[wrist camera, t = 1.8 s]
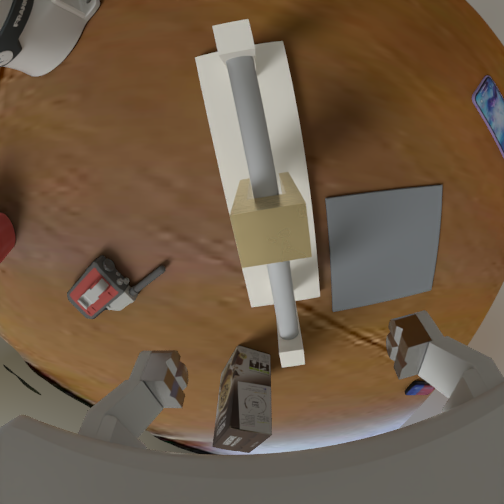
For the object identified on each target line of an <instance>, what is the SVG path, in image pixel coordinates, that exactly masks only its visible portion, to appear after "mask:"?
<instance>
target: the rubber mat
mask: <svg viewBox="0 0 504 504" xmlns="http://www.w3.org/2000/svg"><path fill="white" fill-rule="evenodd" d="M325 201H326V211H327V222H328V234H329V248H330V264H331V284H332V311H333V312H335V311H341V310H346V309H351V308H356V307H361V306H366V305H371V304H375V303H380V302H384V301H389V300H393V299H397V298H402V297H406V296H410V295H414V294H418V293H422V292H426V291H430V290H431V288H432V283H433V277H434V271H435V265H436V258H437V250H438V242H439V233H440V222H441V207H442V185H432V186H422V187H412V188H402V189H393V190H384V191H376V192H368V193H360V194H352V195H344V196H337V197H330V198H325Z"/></svg>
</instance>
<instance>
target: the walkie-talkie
mask: <svg viewBox="0 0 504 504" xmlns="http://www.w3.org/2000/svg"><path fill="white" fill-rule="evenodd" d="M85 271H86V272H85V273H84V274H83V275H82V276H81V278H80V279H79V280H78V281H77V282H76V283H75V284H74V285H73V287H72V288H71V289H70V290H69V291H68V292H67V297H68V300H69V301H70V302H71V303H72V304H73V305H74V306H75V307H76V308H77V309H78V310H79V311H80V312H81V313H82V314H83V315H84V316H85V317H86V318H88V319H95V318H96V317H97V316H98V315H99V314H100V313H102V312H103V311H104V310H117V311H120V310H122V309H123V308H124V307H126V306H127V305H128V304H130V303H132V302H134V301H135V299H136V298H137V296H138V293H139V291H140V290H142V289H143V288H144V287H145V286H147V285H148V284H149V283H151V282H152V281H153V280H155V279H156V278H157V277H158V276H160V275H161V274H162V273H164V272H165V267H164V266H160V267H158V268H157V269H156V270H155V271H153V272H152V273H151V274H149V275H148V276H147V277H146V278H144V279H143V280H142V281H141V282H139V283H138V284H137V285H136V286H133V287H132V288H131V287H130V286H129V279H128V278H124V277H123V276H122V275H121V274H120V273H119V272H118V271H117V270H116V269H115V265H114V263H113V261H112V260H110V259H106V258H105V257H104V256H100V257H99V258H98V259H97V258H96V259H95V261H94V262H93V263H92V264H91V265H90V266H89V267H88V268H87V269H86V270H85Z"/></svg>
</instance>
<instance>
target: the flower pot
mask: <svg viewBox="0 0 504 504" xmlns="http://www.w3.org/2000/svg"><path fill="white" fill-rule="evenodd" d="M14 245H15V232H14V228H13V225H12V223H11V221H10V219H9V218H8V217H7V216H6V215H5V214H3V213H0V263H1V262H2V261H3V259H4V258H5V257H6V256H7V255H8V253H9V252H10V251H11V250H12V249H13V247H14Z"/></svg>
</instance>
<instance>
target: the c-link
mask: <svg viewBox="0 0 504 504" xmlns="http://www.w3.org/2000/svg"><path fill="white" fill-rule="evenodd" d="M279 178H280V184H281V190H282V194H279V195H273V196H267V197H261V198H255V199H254V198H253V193H252V188H251V183H250V178H248V179H243V180H240V182H239V185H238V189H237V192H236V196H235V199H234V203H233V206H232V210H231V213H230V218H231V223H232V227H233V231H234V236H235V240H236V244H237V248H238V253H239V257H240V261H241V265H242V268H245V267H252V266H258V265H265V264H271V263H277V262H284V261H290V260H296V259H303V258H309V257H312V253H311V243H310V234H309V225H308V217H307V209H306V202H305V201H304V199H303V197H302V195H301V193H300V192H299V190H298V188H297V186H296V184H295V183H294V181H293V179H292V177H291V176H290V174H289V172H284V173H279Z"/></svg>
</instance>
